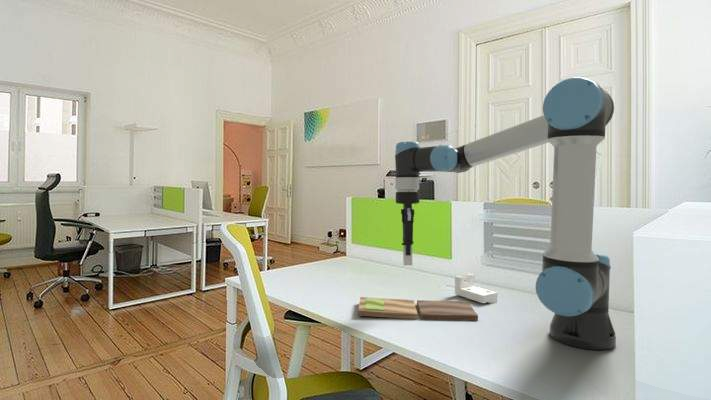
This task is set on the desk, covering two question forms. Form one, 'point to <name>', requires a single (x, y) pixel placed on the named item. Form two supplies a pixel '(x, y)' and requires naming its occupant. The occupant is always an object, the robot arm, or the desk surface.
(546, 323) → the desk surface
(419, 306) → the walnut laid plank
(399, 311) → the board
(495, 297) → the bracket
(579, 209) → the robot arm
